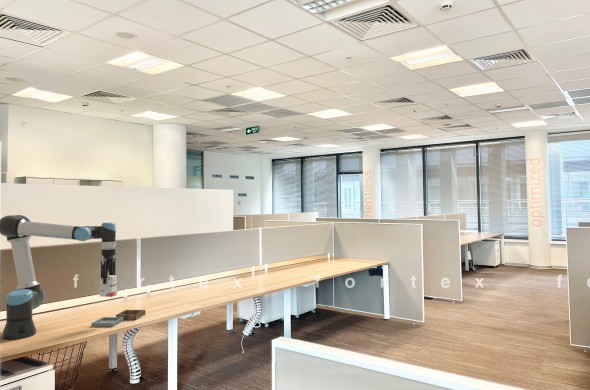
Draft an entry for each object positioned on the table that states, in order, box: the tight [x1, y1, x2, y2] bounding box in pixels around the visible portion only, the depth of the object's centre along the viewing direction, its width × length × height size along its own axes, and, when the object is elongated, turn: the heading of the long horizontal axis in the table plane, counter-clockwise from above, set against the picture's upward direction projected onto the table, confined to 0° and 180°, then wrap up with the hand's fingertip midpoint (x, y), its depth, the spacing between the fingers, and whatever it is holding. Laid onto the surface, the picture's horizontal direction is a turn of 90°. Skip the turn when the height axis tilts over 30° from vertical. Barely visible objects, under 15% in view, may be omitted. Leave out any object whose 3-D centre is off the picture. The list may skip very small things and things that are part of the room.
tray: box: [91, 316, 125, 328], centre depth 246 cm, size 13×13×2 cm
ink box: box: [99, 274, 118, 298], centre depth 247 cm, size 9×5×12 cm, turn 76°
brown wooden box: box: [115, 309, 146, 321], centre depth 260 cm, size 13×13×3 cm
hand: (108, 288), depth 247 cm, fingers closed on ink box, 5 cm apart
